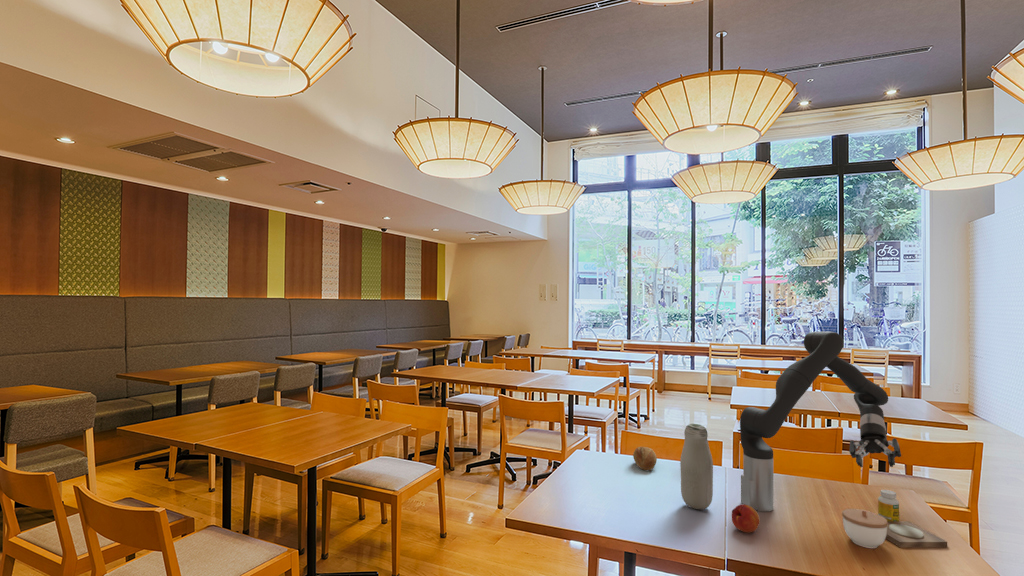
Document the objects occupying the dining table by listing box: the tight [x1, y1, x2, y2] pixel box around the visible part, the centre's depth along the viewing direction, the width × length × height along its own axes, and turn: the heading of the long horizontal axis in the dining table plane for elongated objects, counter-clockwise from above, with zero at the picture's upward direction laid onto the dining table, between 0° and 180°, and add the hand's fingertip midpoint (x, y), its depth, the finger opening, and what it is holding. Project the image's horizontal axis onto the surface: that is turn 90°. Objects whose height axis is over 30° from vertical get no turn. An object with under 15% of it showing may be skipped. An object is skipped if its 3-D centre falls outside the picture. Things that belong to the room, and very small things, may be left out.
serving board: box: [885, 520, 948, 548], centre depth 145 cm, size 14×13×2 cm
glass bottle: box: [679, 423, 714, 511], centre depth 164 cm, size 10×10×28 cm
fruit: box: [731, 503, 761, 534], centre depth 147 cm, size 8×8×8 cm
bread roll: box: [632, 446, 658, 471], centre depth 205 cm, size 10×15×8 cm, turn 170°
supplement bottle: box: [877, 489, 900, 521], centre depth 155 cm, size 5×5×10 cm
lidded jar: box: [841, 508, 888, 549], centre depth 140 cm, size 11×11×9 cm
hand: (875, 465), depth 162 cm, fingers open, 8 cm apart
